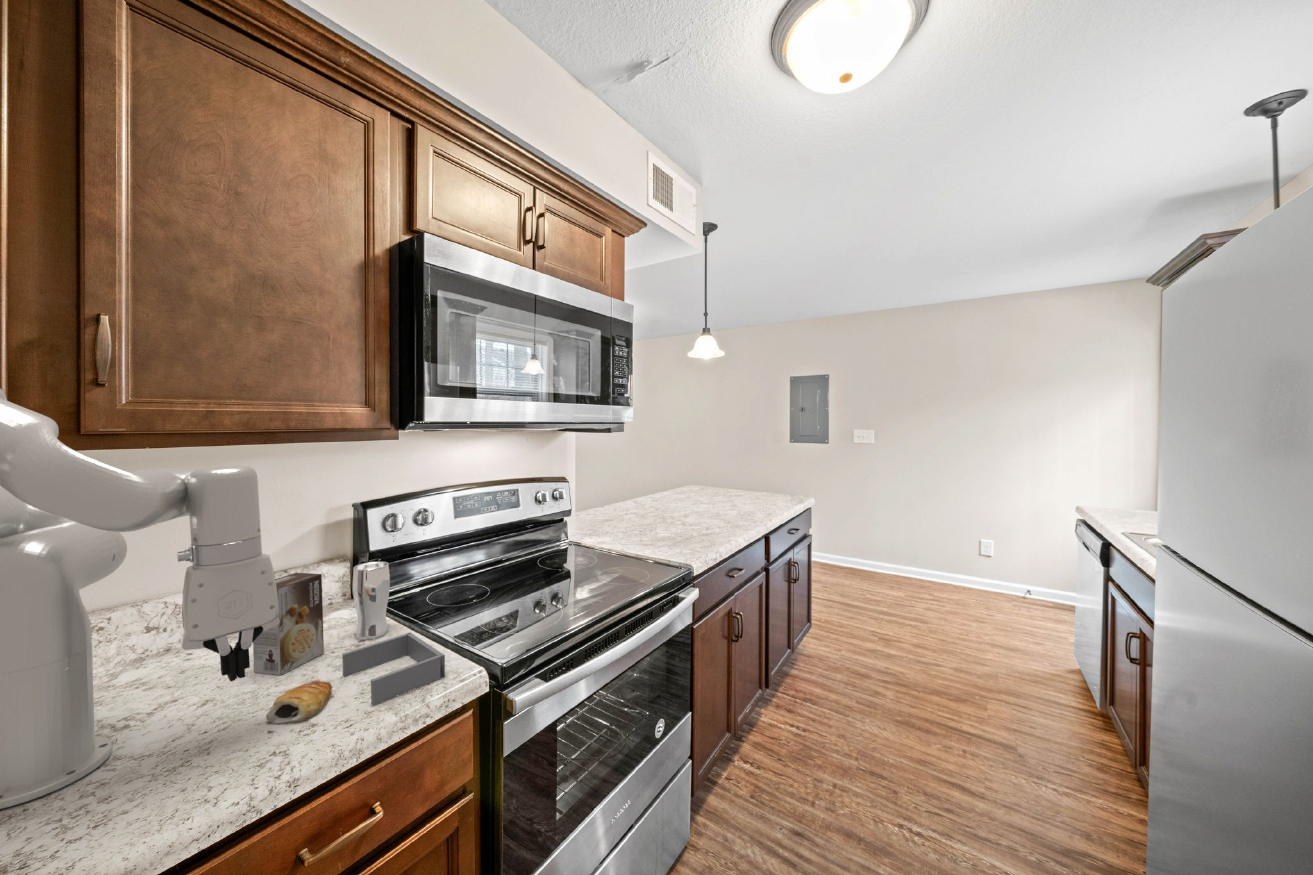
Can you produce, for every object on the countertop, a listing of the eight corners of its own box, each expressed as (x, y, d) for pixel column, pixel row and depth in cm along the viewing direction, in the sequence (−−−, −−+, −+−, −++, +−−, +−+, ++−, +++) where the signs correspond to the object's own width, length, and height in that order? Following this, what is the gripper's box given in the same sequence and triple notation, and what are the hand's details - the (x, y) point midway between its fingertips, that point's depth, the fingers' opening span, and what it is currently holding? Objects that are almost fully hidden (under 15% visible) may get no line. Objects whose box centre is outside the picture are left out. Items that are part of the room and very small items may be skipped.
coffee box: (298, 650, 97) (296, 571, 97) (325, 653, 96) (323, 573, 96) (251, 673, 88) (250, 586, 88) (280, 676, 87) (278, 588, 86)
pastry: (302, 692, 82) (302, 670, 82) (344, 691, 83) (344, 669, 83) (262, 726, 73) (261, 701, 73) (309, 725, 73) (308, 700, 73)
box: (373, 705, 78) (372, 681, 78) (342, 675, 87) (342, 653, 87) (444, 676, 87) (444, 654, 87) (410, 652, 96) (410, 632, 96)
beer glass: (345, 637, 103) (344, 568, 102) (375, 625, 109) (375, 559, 109) (368, 643, 100) (367, 571, 100) (397, 630, 107) (396, 563, 106)
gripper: (155, 569, 61) (165, 710, 62) (298, 544, 73) (305, 663, 73) (151, 560, 66) (160, 690, 67) (285, 537, 78) (291, 649, 78)
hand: (236, 676), depth 70 cm, fingers closed
